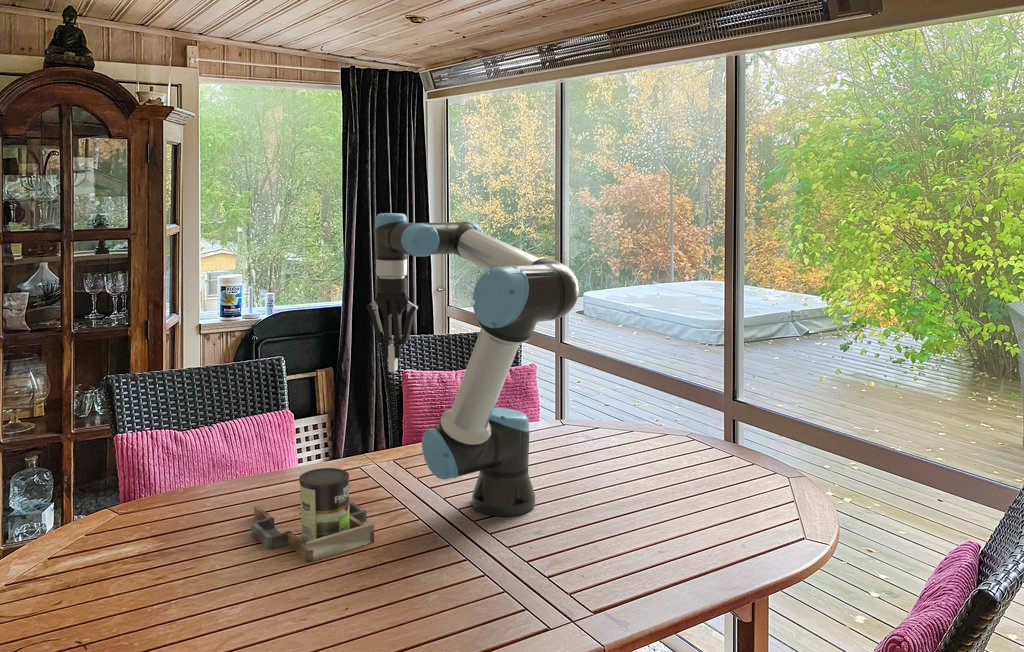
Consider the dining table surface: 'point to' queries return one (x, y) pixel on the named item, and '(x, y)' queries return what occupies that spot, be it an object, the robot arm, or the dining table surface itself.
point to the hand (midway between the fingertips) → (393, 370)
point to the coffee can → (324, 502)
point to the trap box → (318, 547)
